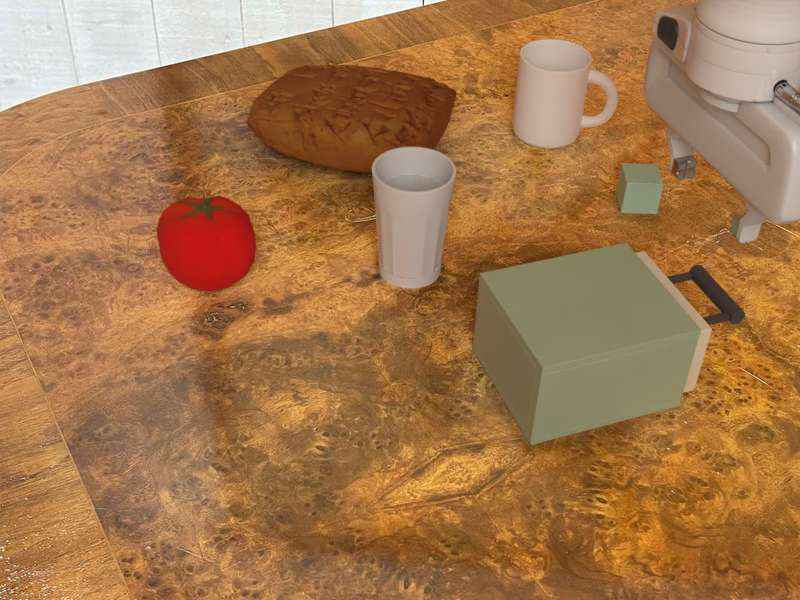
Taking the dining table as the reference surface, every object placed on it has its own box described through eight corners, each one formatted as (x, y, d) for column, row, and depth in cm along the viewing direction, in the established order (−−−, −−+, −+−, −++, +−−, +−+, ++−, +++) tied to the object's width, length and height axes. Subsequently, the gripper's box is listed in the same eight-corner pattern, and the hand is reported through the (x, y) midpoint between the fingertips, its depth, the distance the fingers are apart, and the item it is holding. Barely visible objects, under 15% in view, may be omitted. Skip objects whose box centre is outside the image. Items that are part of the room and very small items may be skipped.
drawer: (678, 299, 104) (693, 239, 100) (744, 377, 96) (765, 316, 91) (503, 340, 99) (510, 278, 94) (558, 425, 91) (569, 363, 86)
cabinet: (610, 317, 103) (626, 242, 97) (679, 406, 94) (701, 329, 88) (472, 349, 99) (479, 273, 93) (530, 445, 90) (542, 367, 84)
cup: (354, 264, 108) (354, 164, 101) (413, 235, 112) (418, 137, 105) (405, 304, 104) (409, 203, 96) (465, 273, 108) (473, 173, 100)
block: (651, 193, 120) (657, 163, 117) (657, 214, 117) (664, 184, 114) (615, 192, 120) (621, 162, 117) (620, 213, 117) (626, 182, 114)
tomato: (227, 317, 102) (220, 247, 96) (138, 285, 105) (127, 215, 99) (277, 263, 108) (273, 195, 103) (192, 235, 111) (184, 167, 106)
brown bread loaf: (465, 137, 128) (470, 77, 123) (410, 212, 116) (413, 149, 111) (301, 96, 134) (299, 37, 129) (232, 163, 122) (227, 101, 117)
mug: (613, 125, 131) (627, 48, 124) (606, 160, 125) (621, 81, 118) (517, 110, 133) (526, 34, 126) (505, 144, 127) (514, 66, 120)
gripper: (872, 114, 73) (819, 270, 82) (710, -7, 88) (679, 138, 97) (795, 129, 72) (749, 287, 81) (643, 4, 86) (618, 150, 95)
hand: (710, 205), depth 89 cm, fingers open, 8 cm apart
